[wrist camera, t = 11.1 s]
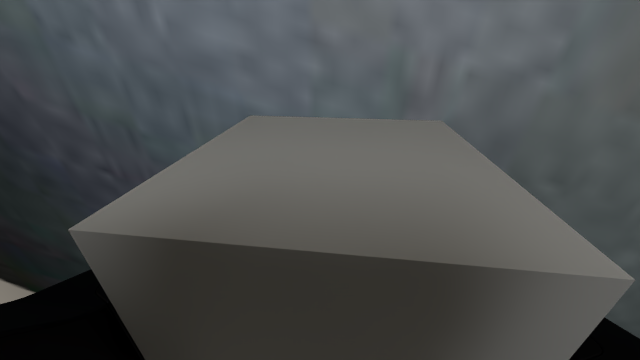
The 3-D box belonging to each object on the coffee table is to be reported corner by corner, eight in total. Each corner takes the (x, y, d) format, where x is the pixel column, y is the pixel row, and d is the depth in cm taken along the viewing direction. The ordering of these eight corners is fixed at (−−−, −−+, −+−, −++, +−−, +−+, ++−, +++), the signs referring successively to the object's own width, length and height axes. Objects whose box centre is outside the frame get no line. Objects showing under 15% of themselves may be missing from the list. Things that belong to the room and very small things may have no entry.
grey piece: (441, 120, 8) (635, 280, 3) (409, 265, 11) (463, 485, 6) (250, 115, 9) (68, 229, 3) (268, 252, 12) (190, 435, 6)
